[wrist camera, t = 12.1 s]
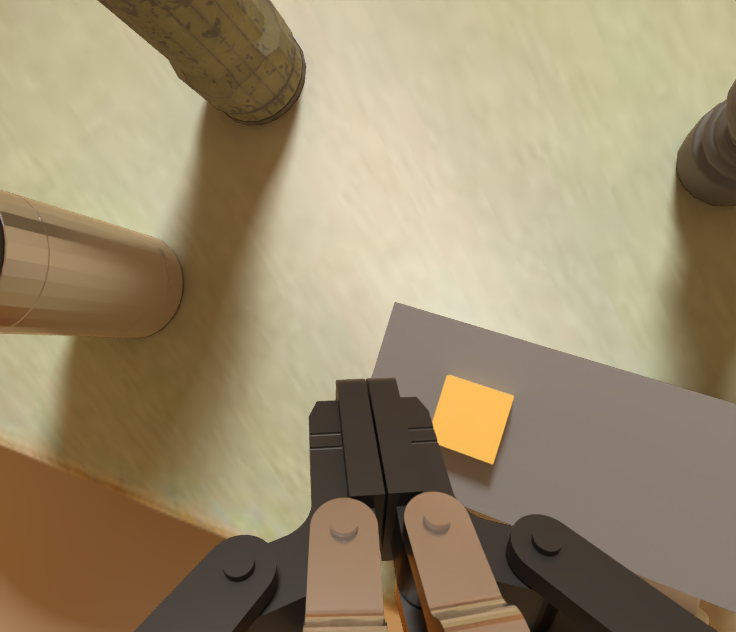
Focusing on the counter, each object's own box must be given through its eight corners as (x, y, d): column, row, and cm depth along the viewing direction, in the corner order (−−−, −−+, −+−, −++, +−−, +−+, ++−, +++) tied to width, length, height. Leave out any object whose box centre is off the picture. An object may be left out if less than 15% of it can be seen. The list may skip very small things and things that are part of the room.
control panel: (721, 531, 36) (902, 689, 19) (408, 419, 42) (338, 465, 25) (758, 415, 36) (973, 474, 19) (438, 319, 41) (389, 299, 25)
